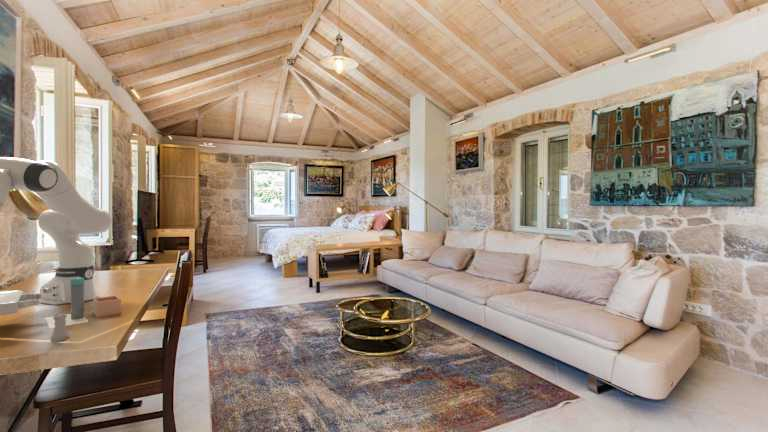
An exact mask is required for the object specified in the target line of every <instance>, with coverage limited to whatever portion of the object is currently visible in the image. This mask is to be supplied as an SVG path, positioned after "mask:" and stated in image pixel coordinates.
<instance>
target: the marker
mask: <svg viewBox="0 0 768 432" xmlns="http://www.w3.org/2000/svg"><path fill="white" fill-rule="evenodd" d="M70 285H71V303H70V314H71V319H81V318H84V316H85V301H84V278H72V279H70Z"/></svg>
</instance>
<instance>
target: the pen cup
mask: <svg viewBox="0 0 768 432" xmlns="http://www.w3.org/2000/svg"><path fill="white" fill-rule="evenodd" d="M121 311H122V299H121V297H119V296H118V295H111V296H110V295H109V296H103V297H97V298H94V299H92V314H93V315H94V316H95V317H96V318H99V317H106V316H112V315H117V314H118V315H119V314H121V313H122V312H121Z"/></svg>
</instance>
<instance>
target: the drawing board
mask: <svg viewBox="0 0 768 432" xmlns="http://www.w3.org/2000/svg"><path fill="white" fill-rule="evenodd" d="M66 315H67V317H66V319H65V320H66V322H65V325H66V327H68V326H71V325H73V326H74V325H79V324H84V323H85V324H87V323H89V320H88V319H87V318H86V317H85V315H84V318H81V319H71V313H67V314H66ZM54 316H55V315H54ZM54 316H47V317H45V321H46V323H47V325H48V328H49V329H55V324H54V322H55V320H54V319H53V317H54Z"/></svg>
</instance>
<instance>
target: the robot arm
mask: <svg viewBox="0 0 768 432" xmlns="http://www.w3.org/2000/svg"><path fill="white" fill-rule="evenodd" d="M12 190H17V191H19V190H20V191H31V192H36V193H37V194H38V196H39V197H40V199H41V200H42V202H43V203H44V205H45V206H46V207H47V208H48V209H45V210H44V211H42V212H41V213H40V215H39V216H38V222H37V223H38V226H39V228H40V229H41V230H42V231H43V232H45V233H46V234H47V235H48V236H50V237H51V239H52V240H53V241H54V242H55V245H56V247H57V251H58V266H59V267H57V268H55V269H52V270H53V273H55V274H54V276H53V277H52V278H50V279H49V280H48V281H47V282H45V283H44V284H43V285H42V286H41V287H40V289H39V292H38V293H25V292H24V290H17V289H15V290H13V289H12V290H0V316H5V315H13V314H16V313H18V312H19V310H20V309H25V308H29V307H34V306H35V307H36V306H38V305H39V304H46V305H55V306H57V305H65V304H71V285H70V279H72V278H84V302H85V301H90V300H93V299H94V298H99V297H98V294H97V290H96V286H95V279H94V273H95V266H94V263H93V260H94V259H93V258H94V257H93V254H94V253H93V248H92V246H91V245H90V244H88V243H86V242H84V241H83V240H82V239H81V238H80V236H79V235H95V234H96V235H97V234H102V233H105V232H107V231H108V230H109V229H110V227H111V225H112V218H111V215H110V214H109V212H108V211H106V210H104V209H101V208H99V207H97V206H94V205H93V204H91V203H90V202H89V201H87V200H86V199H85V198H83V197H82V196H81V194H80V193H79V192H78V191H77V188H76V187H75V185H74V183H72V180H71V179H70V178H69V176H68V174H67V173H66V172H65V171H64V170H63V168H62V167H61V166H60V165H59V164H58V163H57V162H55V161H52V160H47V159H42V160H38V161H36V160H35V161H34V160H31V159H27V158H20V157H9V156H4V155H0V213H2V211H3V208H4V207H5V204H6V202H7V199H8V197H9V193H10V192H11V191H12ZM39 306H40V305H39Z"/></svg>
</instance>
